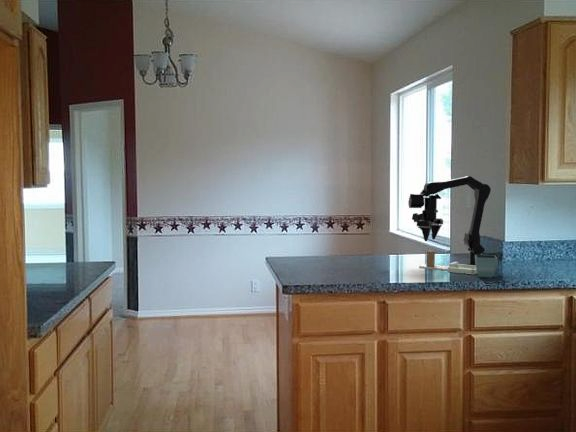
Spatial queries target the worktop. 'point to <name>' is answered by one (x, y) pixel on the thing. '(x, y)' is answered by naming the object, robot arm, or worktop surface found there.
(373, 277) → the worktop surface
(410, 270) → the worktop surface
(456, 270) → the corral
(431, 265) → the metal bookend
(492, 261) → the flower pot
